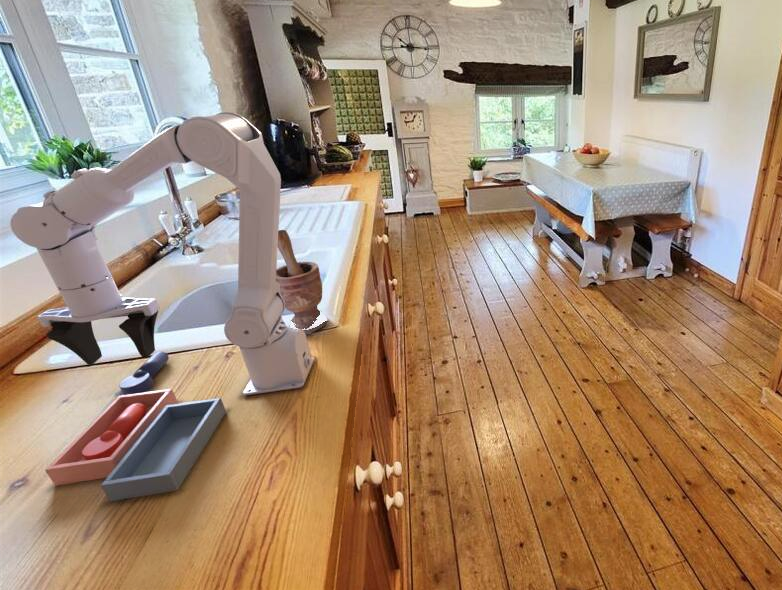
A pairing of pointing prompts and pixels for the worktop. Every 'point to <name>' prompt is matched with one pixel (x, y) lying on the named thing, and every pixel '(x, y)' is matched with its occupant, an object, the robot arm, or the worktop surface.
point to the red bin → (71, 460)
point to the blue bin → (165, 450)
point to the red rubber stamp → (115, 433)
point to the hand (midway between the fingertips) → (122, 357)
